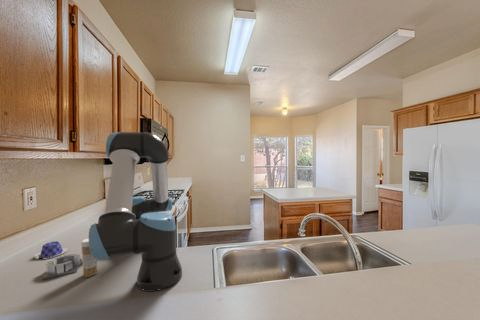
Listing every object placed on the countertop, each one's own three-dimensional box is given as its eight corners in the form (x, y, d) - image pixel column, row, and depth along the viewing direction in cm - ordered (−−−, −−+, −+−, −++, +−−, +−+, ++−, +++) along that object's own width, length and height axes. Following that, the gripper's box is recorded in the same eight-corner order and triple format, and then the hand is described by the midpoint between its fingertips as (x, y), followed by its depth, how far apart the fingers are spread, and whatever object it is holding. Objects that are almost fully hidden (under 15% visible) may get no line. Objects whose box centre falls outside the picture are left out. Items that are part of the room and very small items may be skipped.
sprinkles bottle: (87, 271, 82) (86, 237, 82) (100, 270, 83) (98, 236, 83) (80, 278, 78) (78, 242, 78) (93, 277, 78) (91, 241, 78)
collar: (76, 272, 82) (76, 261, 82) (43, 279, 78) (42, 269, 78) (81, 261, 91) (81, 251, 91) (51, 267, 86) (51, 257, 86)
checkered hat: (28, 258, 96) (28, 246, 96) (59, 247, 107) (59, 237, 107) (41, 262, 91) (41, 250, 91) (73, 251, 102) (72, 240, 102)
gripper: (152, 238, 107) (129, 258, 85) (104, 239, 107) (69, 259, 86) (152, 223, 106) (128, 240, 85) (104, 224, 107) (68, 241, 86)
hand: (98, 250), depth 86 cm, fingers open, 13 cm apart
